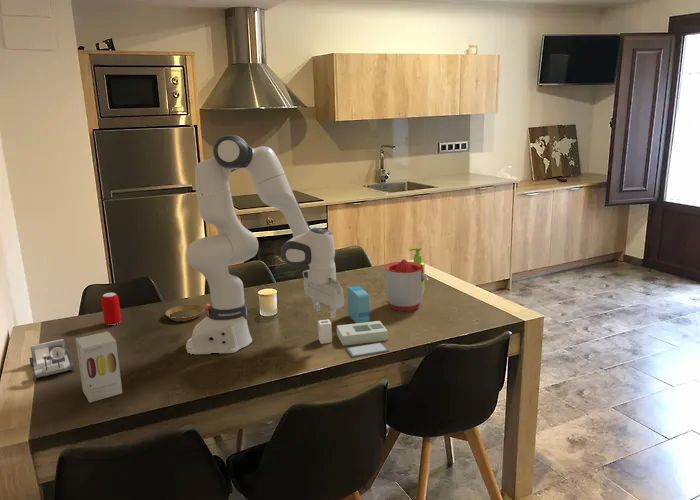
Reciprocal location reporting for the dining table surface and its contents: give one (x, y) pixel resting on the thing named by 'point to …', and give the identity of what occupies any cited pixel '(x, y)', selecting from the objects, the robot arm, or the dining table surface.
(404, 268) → the citrus juicer
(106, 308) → the beverage can
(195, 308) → the plant saucer
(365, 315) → the blue rounded block
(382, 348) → the phone
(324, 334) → the plug
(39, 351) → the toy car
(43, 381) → the dining table surface
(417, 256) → the soap dispenser
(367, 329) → the socket strip
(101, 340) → the supplement box
